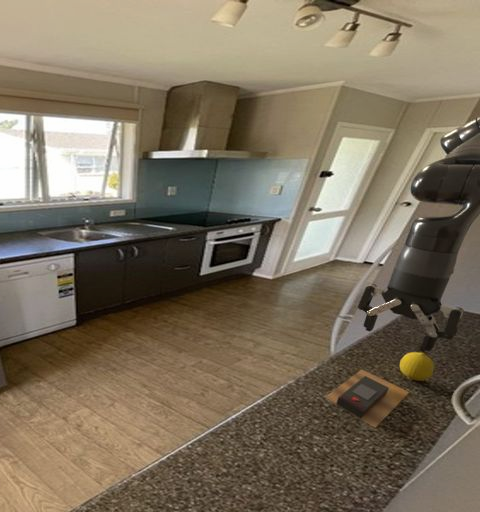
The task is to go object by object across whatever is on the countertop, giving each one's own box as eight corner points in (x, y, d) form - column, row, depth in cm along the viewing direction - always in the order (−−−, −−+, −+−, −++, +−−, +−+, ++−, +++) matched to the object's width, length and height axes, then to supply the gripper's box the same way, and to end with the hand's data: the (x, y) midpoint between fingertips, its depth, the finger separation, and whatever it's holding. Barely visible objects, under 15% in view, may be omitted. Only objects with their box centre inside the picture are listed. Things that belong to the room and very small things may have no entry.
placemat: (361, 370, 75) (361, 369, 75) (408, 393, 68) (409, 392, 68) (324, 398, 66) (324, 397, 66) (374, 429, 58) (375, 427, 58)
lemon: (430, 391, 69) (444, 363, 66) (399, 381, 71) (410, 355, 69) (421, 377, 73) (433, 351, 71) (392, 369, 76) (402, 343, 73)
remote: (362, 382, 70) (365, 375, 70) (386, 394, 67) (389, 386, 66) (335, 404, 64) (338, 396, 63) (360, 418, 60) (363, 410, 60)
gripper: (368, 262, 61) (346, 328, 66) (474, 286, 49) (438, 364, 54) (381, 257, 64) (360, 320, 69) (483, 278, 53) (449, 352, 58)
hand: (394, 339), depth 62 cm, fingers open, 8 cm apart
